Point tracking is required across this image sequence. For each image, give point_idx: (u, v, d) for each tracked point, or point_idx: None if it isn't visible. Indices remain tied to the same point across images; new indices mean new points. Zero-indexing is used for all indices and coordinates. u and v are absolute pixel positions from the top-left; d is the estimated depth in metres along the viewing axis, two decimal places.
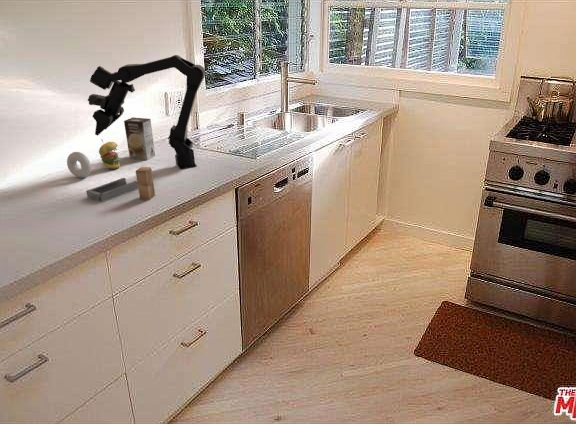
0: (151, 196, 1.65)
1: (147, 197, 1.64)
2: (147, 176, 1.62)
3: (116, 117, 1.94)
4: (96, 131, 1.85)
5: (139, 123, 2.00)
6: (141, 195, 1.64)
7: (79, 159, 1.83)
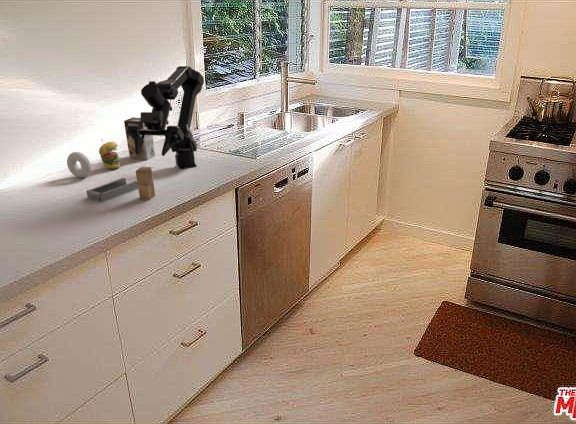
0: (151, 196, 1.65)
1: (147, 197, 1.64)
2: (147, 176, 1.62)
3: (142, 141, 1.72)
4: (164, 151, 1.66)
5: (139, 123, 2.00)
6: (141, 195, 1.64)
7: (79, 159, 1.83)
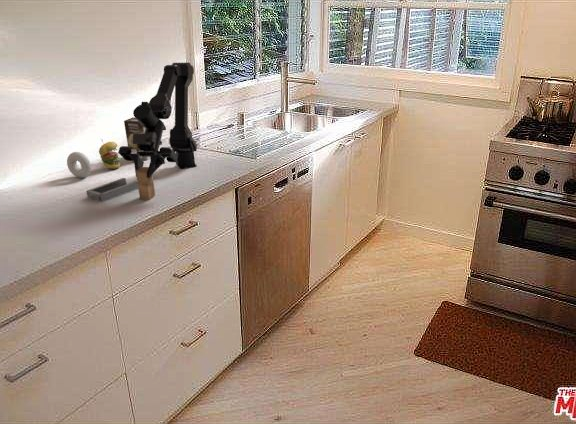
0: (151, 196, 1.65)
1: (147, 197, 1.64)
2: None
3: (143, 162, 1.67)
4: (150, 172, 1.62)
5: (139, 123, 2.00)
6: (141, 195, 1.64)
7: (79, 159, 1.83)
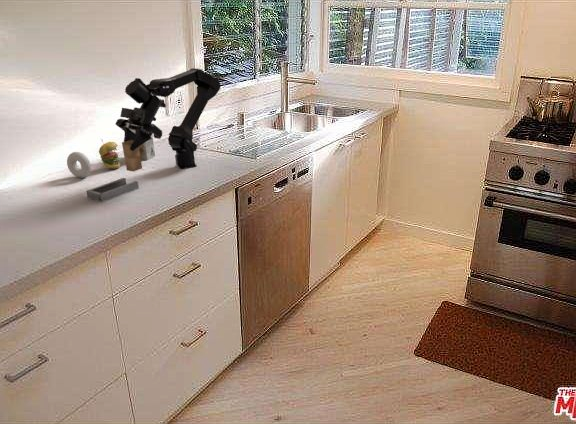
0: (135, 168, 1.74)
1: (131, 169, 1.74)
2: None
3: (136, 136, 1.77)
4: (133, 146, 1.71)
5: None
6: (127, 166, 1.75)
7: (79, 159, 1.83)
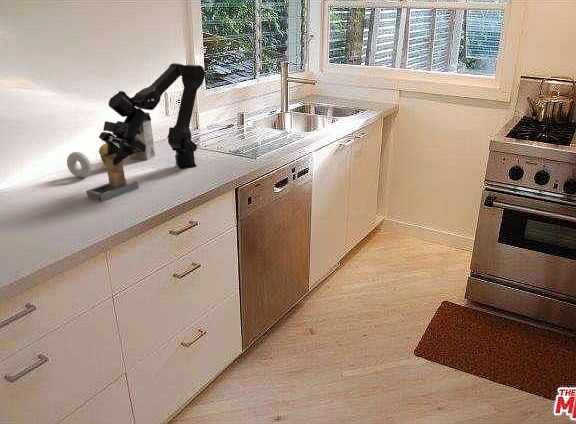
0: (118, 183, 1.70)
1: (114, 183, 1.70)
2: None
3: None
4: (116, 160, 1.67)
5: None
6: (110, 180, 1.71)
7: (79, 159, 1.83)
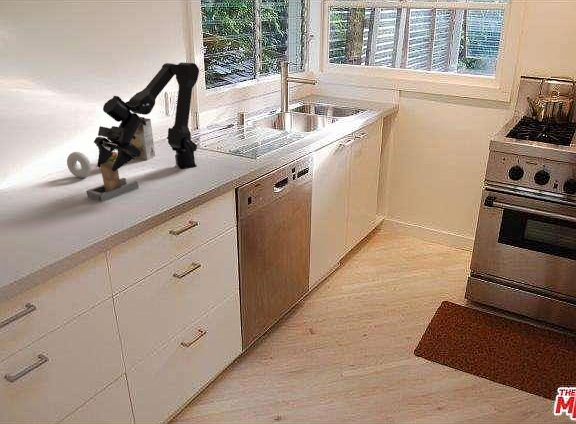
0: None
1: None
2: (108, 171, 1.66)
3: (111, 153, 1.73)
4: (115, 166, 1.64)
5: None
6: (105, 188, 1.70)
7: (79, 159, 1.83)
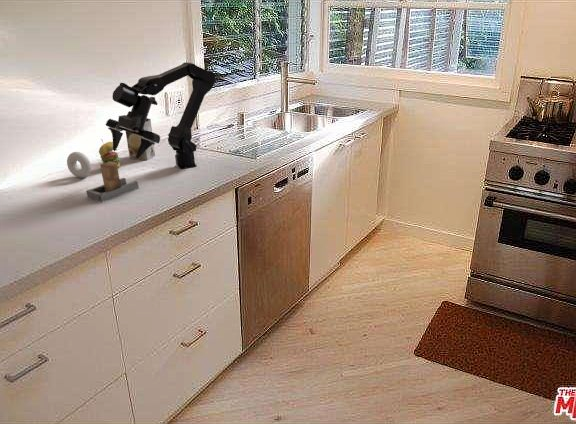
0: None
1: None
2: (108, 171, 1.66)
3: (121, 134, 1.78)
4: (139, 154, 1.74)
5: None
6: (105, 188, 1.70)
7: (79, 159, 1.83)
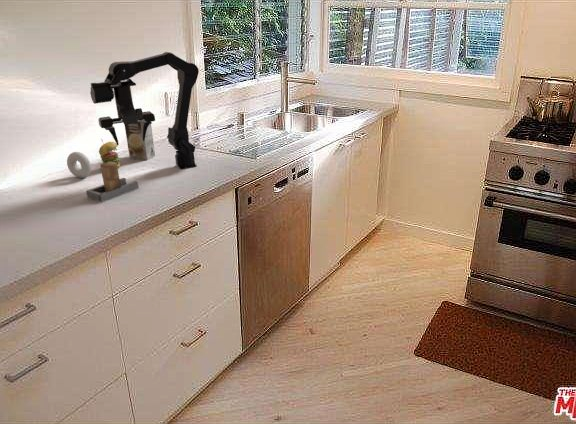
0: None
1: None
2: (108, 171, 1.66)
3: None
4: None
5: (139, 123, 2.00)
6: (105, 188, 1.70)
7: (79, 159, 1.83)
